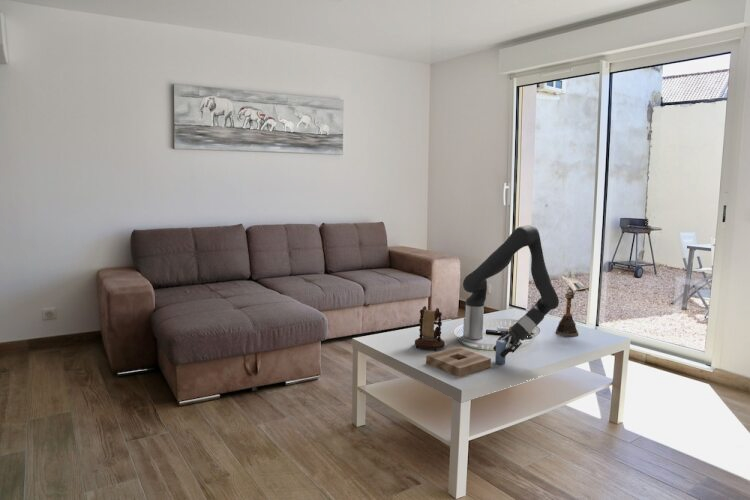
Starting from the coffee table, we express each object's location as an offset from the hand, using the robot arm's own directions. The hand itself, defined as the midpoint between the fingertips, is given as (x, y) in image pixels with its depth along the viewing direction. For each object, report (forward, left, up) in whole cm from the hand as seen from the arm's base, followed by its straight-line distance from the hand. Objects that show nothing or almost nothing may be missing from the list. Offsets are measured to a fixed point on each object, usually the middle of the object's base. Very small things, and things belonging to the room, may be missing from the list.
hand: (497, 353), depth 234 cm
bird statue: (-4, +68, -5) cm, 68 cm away
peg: (+1, +1, -5) cm, 5 cm away
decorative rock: (-21, +45, -5) cm, 49 cm away
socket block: (-8, -17, -5) cm, 19 cm away
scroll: (-34, -9, -5) cm, 36 cm away
